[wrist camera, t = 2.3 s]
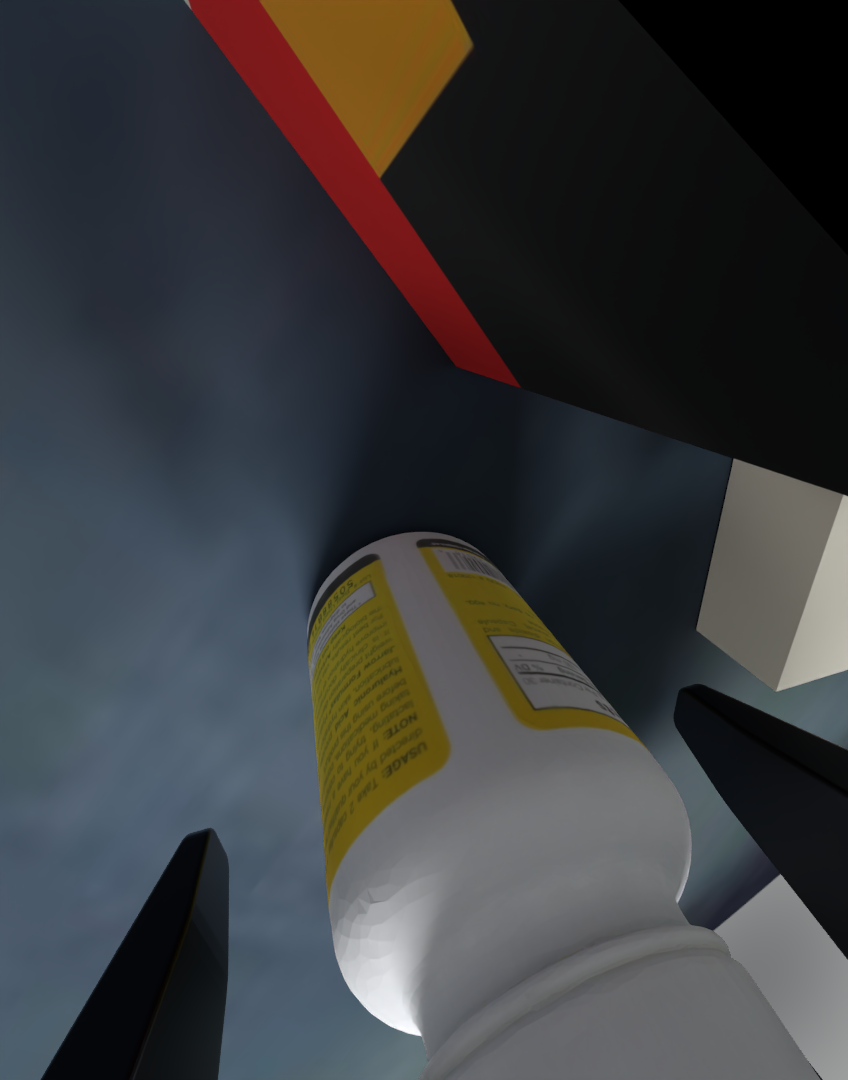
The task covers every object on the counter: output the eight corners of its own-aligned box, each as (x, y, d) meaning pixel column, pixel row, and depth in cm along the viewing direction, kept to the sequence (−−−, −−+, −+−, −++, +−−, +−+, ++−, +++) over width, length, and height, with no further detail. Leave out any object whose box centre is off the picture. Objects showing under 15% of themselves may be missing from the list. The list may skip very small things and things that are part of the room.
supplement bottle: (331, 716, 14) (409, 1404, 5) (281, 553, 11) (269, 1382, 2) (506, 665, 14) (820, 1172, 6) (497, 504, 12) (1022, 984, 3)
